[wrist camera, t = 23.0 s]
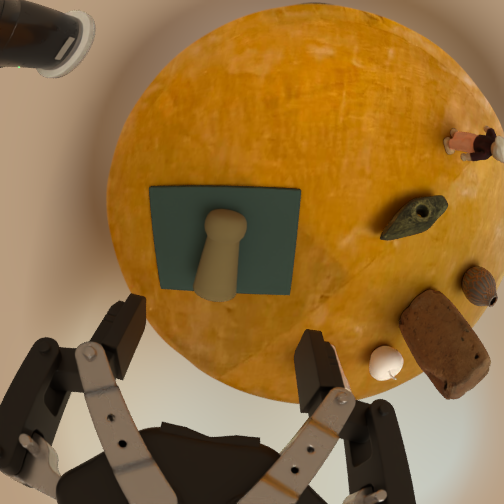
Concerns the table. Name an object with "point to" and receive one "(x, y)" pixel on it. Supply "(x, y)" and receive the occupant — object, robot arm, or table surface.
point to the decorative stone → (415, 217)
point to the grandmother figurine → (476, 145)
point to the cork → (220, 256)
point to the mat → (250, 246)
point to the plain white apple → (385, 363)
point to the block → (444, 344)
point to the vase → (479, 287)
